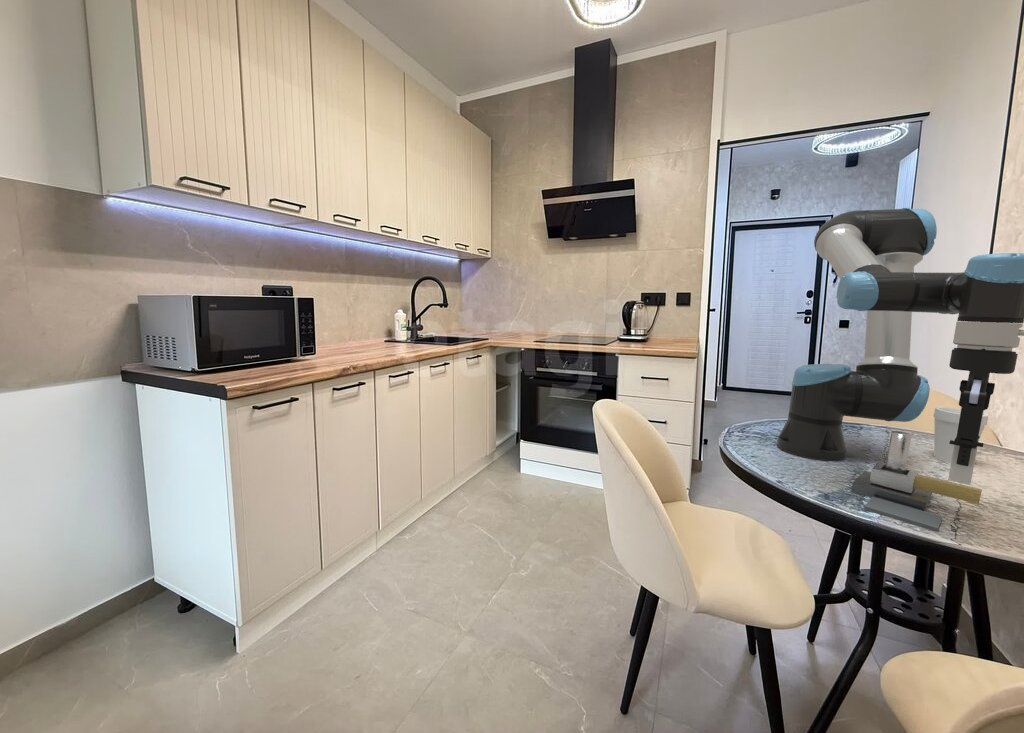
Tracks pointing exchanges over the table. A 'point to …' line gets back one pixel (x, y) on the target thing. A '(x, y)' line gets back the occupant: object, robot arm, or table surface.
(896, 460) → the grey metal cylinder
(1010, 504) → the table surface
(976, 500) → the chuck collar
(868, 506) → the pad
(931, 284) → the robot arm
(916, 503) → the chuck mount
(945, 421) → the grey rounded piece
